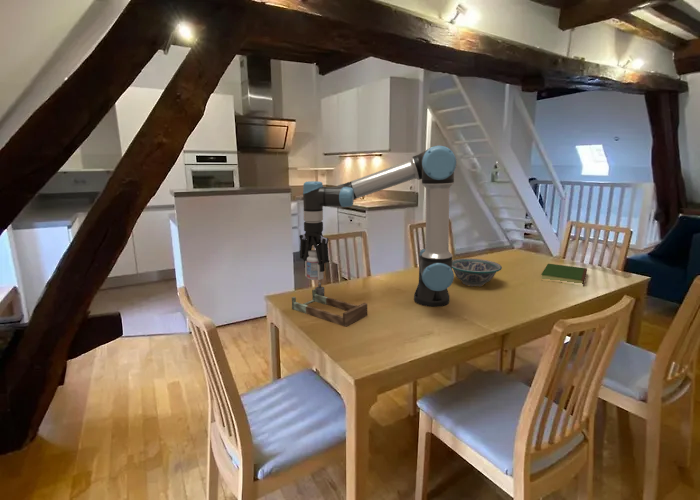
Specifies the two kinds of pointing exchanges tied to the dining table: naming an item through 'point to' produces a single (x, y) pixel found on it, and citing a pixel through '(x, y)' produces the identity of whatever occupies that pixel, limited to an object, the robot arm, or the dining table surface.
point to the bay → (348, 317)
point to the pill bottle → (312, 265)
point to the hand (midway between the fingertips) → (314, 277)
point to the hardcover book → (564, 273)
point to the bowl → (475, 271)
